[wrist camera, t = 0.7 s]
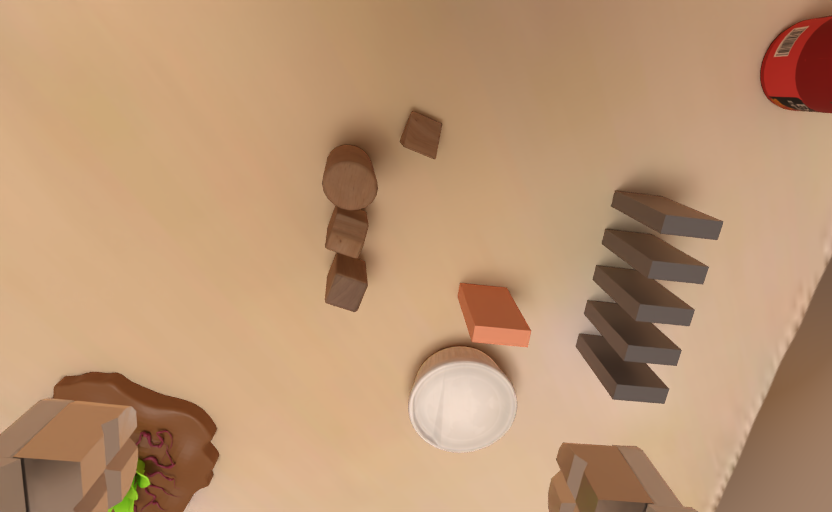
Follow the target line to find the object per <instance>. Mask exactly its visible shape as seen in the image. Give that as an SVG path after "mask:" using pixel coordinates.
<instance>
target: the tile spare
mask: <svg viewBox="0 0 832 512" xmlns="http://www.w3.org/2000/svg"><path fill="white" fill-rule="evenodd" d="M458 299H459V303H460V306H461V309H462V312H463V315H464V318H465V322H466V325H467V328H468V331H469V334H470V337H471V341H472V342H477V343H487V344H498V345H509V346H520V347H528V343H529V339H530V334H531V330H530V328H529V326H528V324H527V323H526V321H525V319H524V317H523V316H522V314H521V312H520V310H519V309H518V307H517V305H516V303H515V302H514V300H513V298H512V296H511V295H510V293H509V291H508V289H507V288H505V287H495V286H485V285H475V284H466V283H460V286H459V292H458Z"/></svg>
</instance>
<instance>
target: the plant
mask: <svg viewBox="0 0 832 512" xmlns="http://www.w3.org/2000/svg"><path fill="white" fill-rule="evenodd" d="M53 399H63V400H73V401H85V402H94V403H104V404H114V405H123V406H132V407H133V408H134V409H135V410H136V417H137V428H136V429H135V430H134V432H133V433H132V434H131V436H130V438H131V439H132V441H133V442H134V443H135V444H136V446H137V447H138V462H137V469H136V473H135V476H134V479H133V482H132V484H131V487H130V489H129V491H128V492H127V494H126V496H125V497H124V499H123V500H122V502H120V503H118V504H117V505H115V506H113V507H112V508H110V509H108V512H183V511H184V510H185V508H186V506H187V504H188V503H189V501H190V499H191V498H192V496H193V494H194V493H195V492H196V491H198V490H199V489H201V488H204V487H207V486H208V485H209V484H210V481H211V479H212V477H213V472H212V469H213V468H214V466H215V464H216V461H217V459H218V457H219V452H218V451H217V449H216V448H215V447H214V446H213V444H212V443H211V442H210V441H211V440H212V438H213V436H214V434H215V432H216V430H217V427H216V425H215V423H214V422H213V420H212V419H211V418H210V416H209V415H208V414H207V413H206V412H205V411H204V410H203V409H202V408H200V407H199V406H197V405H196V404H193V403H191V402H189V401H186V400H182V399H179V398H175V397H170V396H166V395H163V394H160V393H157V392H154V391H152V390H150V389H147V388H145V387H142V386H140V385H138V384H136V383H133V382H132V381H130V380H128V379H127V378H126V377H124V376H123V375H121V374H119V373H101V372H90V373H86V374H83V375H79V376H65V377H64V378H63V379H62V380H61V381H60V382H59V383H57V384H56V385H55V387H54V395H53Z"/></svg>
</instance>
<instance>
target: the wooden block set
mask: <svg viewBox="0 0 832 512" xmlns="http://www.w3.org/2000/svg"><path fill="white" fill-rule="evenodd" d="M441 127H442V124H441V123H439V122H437V121H434V120H432V119H430V118H427V117H425V116H423V115H420V114H418V113H416V112H413V111H412V112H411V114H410V117H409V119H408V122H407V124H406V127H405V129H404V132H403V134H402V137H401V139H400V143H401V144H402V145H403V146H404V147H406V148H408V149H411V150H413V151H415V152H418V153H420V154H423V155H425V156H428V157H430V158H433V159H436V155H437V149H438V144H439V138H440V133H441ZM322 185H323V190H324V193H325V194H326V196H327V198H328V199H329V200H330V201H331V202H332V203H333V204H334V205H336V206H335V209H334V212H333V214H332V217H331V220H330V222H329V225H328V228H327V236H326V244H325V248H327V249H329V250H332V251H335V252H337V253H336V255H335V257H334V260H333V263H332V265H331V268H330V270H329V273H328V276H327V284H326V294H325V302H326V303H327V304H330V305H334V306H337V307H340V308H343V309H346V310H350V311H353V312H356V311H357V310H358V308H359V306H360V303H361V301H362V298H363V296H364V293H365V291H366V289H367V286H368V283H367V273H366V263H365V261H363V260H360V259H358V257H359V255H360V252H361V250H362V247H363V245H364V241H365V237H366V234H367V230H368V219H367V212H366V211H363V210H361V209H362V208H365V207H367V206H368V205H369V204H371V203H372V202H373V200H374V199H375V197H376V195H377V190H378V186H377V180H376V176H375V173H374V170H373V166H372V163H371V160H370V158H369V156H368V155H367V154H366V153H365V152H364V151H363V150H362V149H360V148H358V147H357V146H353V145H341V146H339V147H336V148H335V149H334V150H332V151H331V152H330V154H329V156H328V158H327V162H326V167H325V171H324V175H323V181H322Z"/></svg>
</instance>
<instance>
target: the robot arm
mask: <svg viewBox="0 0 832 512" xmlns="http://www.w3.org/2000/svg"><path fill="white" fill-rule="evenodd" d="M136 428H137V417H136V410H135V409H134V408H133V407H132V406H123V405H114V404H104V403H94V402H85V401H73V400H63V399H51V398H47V399H43V400H40V401H38V402H37V403H36V404H35V405H34V406H33V407H31V408H30V409H29V410H28V411H27V412H26V413H24V414H23V415H22V416H21V417H20V418H19V419H17V420H16V421H15V422H14V423H13V424H12V425H11V426H9V427H8V428H7V429H6V430H5V431H4V432H2V433H1V434H0V512H108V509H110V508H112V507H113V506H115V505H117V504H118V503H120V502H122V500H123V499H124V497H125V496H126V494H127V492H128V491H129V489H130V487H131V484H132V482H133V479H134V476H135V473H136V469H137V462H138V447H137V446H136V444H135V443H134V442H133V441H132V439H131V438H130V436H131V434H132V433H133V432H134V430H135V429H136ZM556 460H557V463H558V465H559V467H560V469H561V470H560V471H559V472H558V473H557V474H556V475H555V476H554V477H553V478H551V483H550V487H549V492H548V509H549V512H698V511H696V510H695V509H693V508H692V507H683V506H682V504H681V503H680V501H679V500H678V499H677V497H676V496H675V494H674V493H673V492H672V490H671V489H670V488H669V486H668V485H667V483H666V482H665V481H664V479H663V478H662V476H661V475H660V474H659V472H658V471H657V470H656V468H655V467H654V465H653V464H652V463H651V461H650V460H649V458H648V457H647V456H646V454H645V453H644V452H643V450H641V449H640V448H638V447H637V446H618V445H612V446H606V445H592V444H578V443H564V442H563V443H562V445H561V447H560V448H559V451H558V455H557V458H556Z"/></svg>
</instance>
